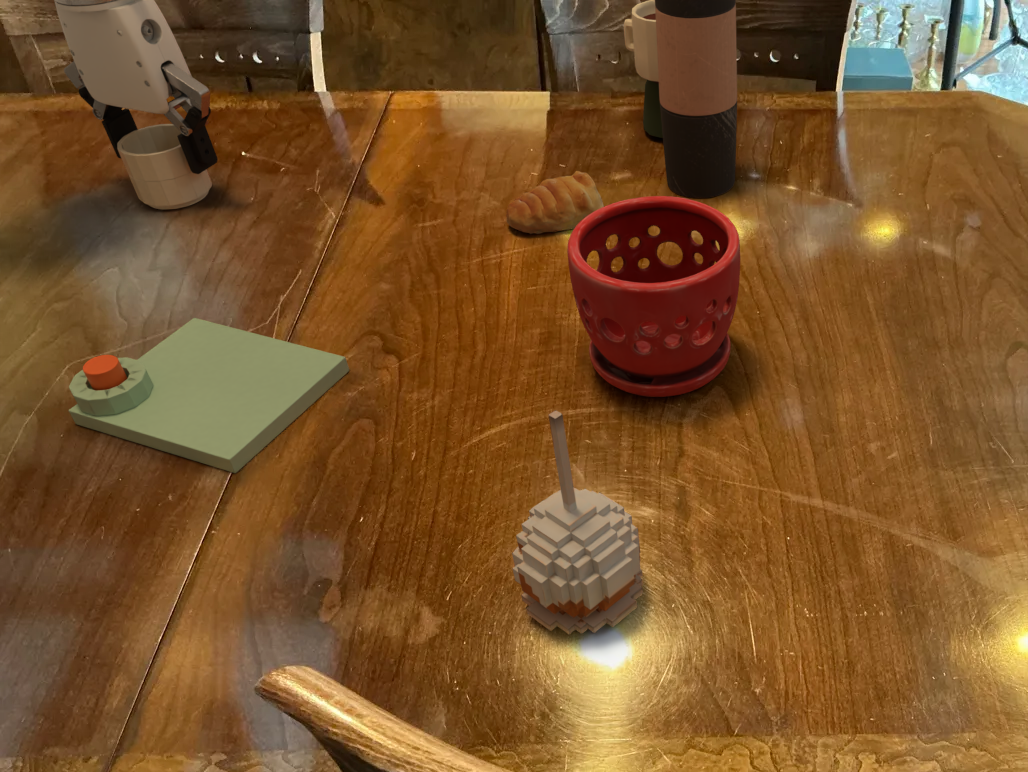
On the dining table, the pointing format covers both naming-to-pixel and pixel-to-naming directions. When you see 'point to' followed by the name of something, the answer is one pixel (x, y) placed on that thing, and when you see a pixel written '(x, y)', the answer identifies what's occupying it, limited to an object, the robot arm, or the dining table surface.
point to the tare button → (104, 372)
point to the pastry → (555, 204)
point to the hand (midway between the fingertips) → (168, 160)
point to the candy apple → (577, 554)
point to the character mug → (646, 61)
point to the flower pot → (656, 294)
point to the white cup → (161, 168)
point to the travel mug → (698, 94)
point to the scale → (209, 393)
